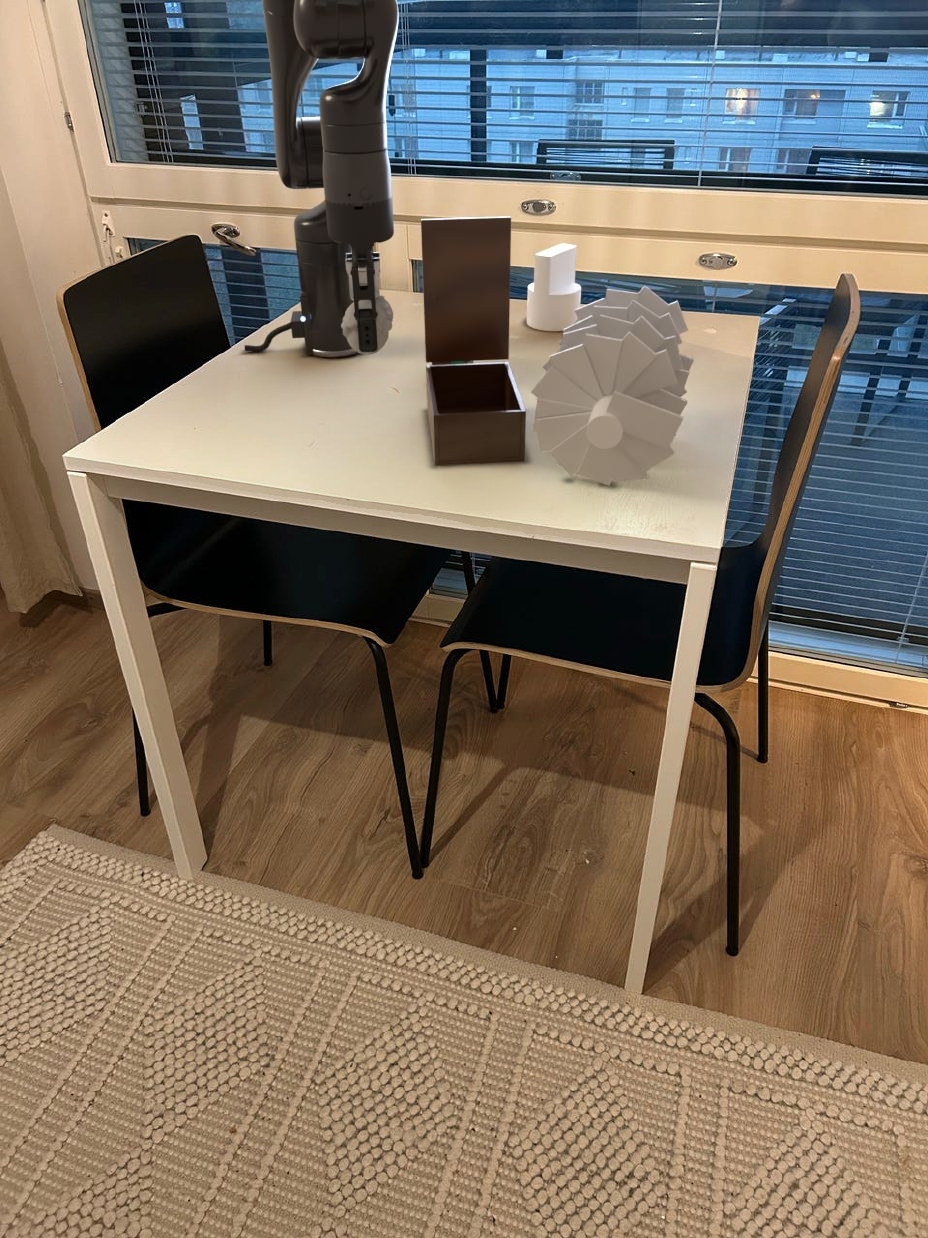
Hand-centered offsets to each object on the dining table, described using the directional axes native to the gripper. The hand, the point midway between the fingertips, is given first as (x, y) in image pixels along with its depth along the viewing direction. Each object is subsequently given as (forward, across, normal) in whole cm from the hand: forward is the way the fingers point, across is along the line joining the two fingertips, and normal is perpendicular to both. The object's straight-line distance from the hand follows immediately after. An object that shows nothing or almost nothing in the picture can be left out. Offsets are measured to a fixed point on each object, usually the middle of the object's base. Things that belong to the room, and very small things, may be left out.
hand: (368, 340), depth 113 cm
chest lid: (-3, -9, +13) cm, 16 cm away
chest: (+13, -1, +13) cm, 19 cm away
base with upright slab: (+14, -46, +31) cm, 57 cm away
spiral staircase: (+14, +6, +30) cm, 33 cm away
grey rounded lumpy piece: (+2, 0, 0) cm, 2 cm away
